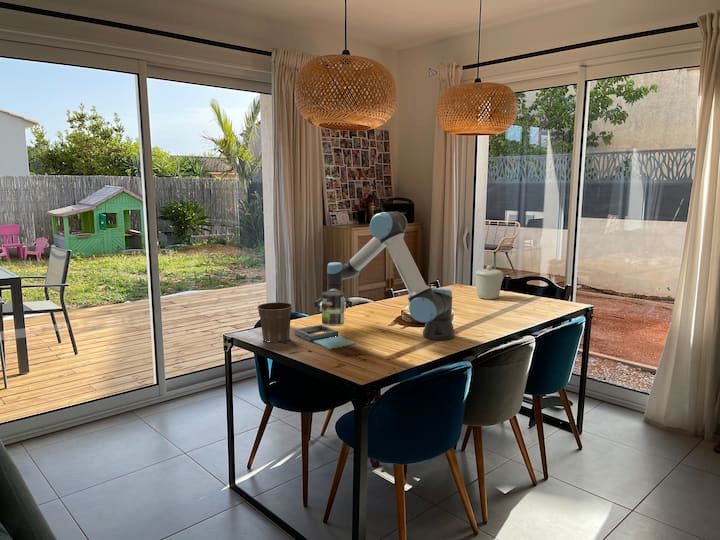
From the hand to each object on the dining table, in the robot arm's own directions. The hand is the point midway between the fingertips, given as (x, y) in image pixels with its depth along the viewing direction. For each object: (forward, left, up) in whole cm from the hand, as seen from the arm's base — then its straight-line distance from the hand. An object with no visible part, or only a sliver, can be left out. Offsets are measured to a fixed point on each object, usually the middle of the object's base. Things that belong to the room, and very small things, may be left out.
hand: (332, 308), depth 240 cm
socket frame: (-3, -19, -17) cm, 26 cm away
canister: (-136, -31, -17) cm, 141 cm away
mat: (-3, -3, -17) cm, 18 cm away
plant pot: (+16, -24, -17) cm, 34 cm away
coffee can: (-2, -4, -8) cm, 9 cm away
